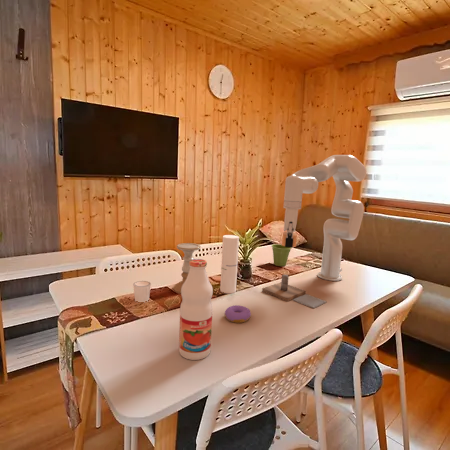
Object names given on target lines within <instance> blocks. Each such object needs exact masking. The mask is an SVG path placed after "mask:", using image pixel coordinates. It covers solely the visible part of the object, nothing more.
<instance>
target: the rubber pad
mask: <svg viewBox="0 0 450 450" xmlns="http://www.w3.org/2000/svg"><path fill="white" fill-rule="evenodd" d="M292 301H293V302H296V303H298V304H302V305H303V306H307V307H309V308H310V309H316V308H318V307H320V306H322V305H325V304H326V303H327V300H324V299H321V298H318V297H315V296H314V295H313V296H312V295H310V294H307V293H306V294H305V295H302V296H300V297H297V298H295V299H292Z"/></svg>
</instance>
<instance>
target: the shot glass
mask: <svg viewBox="0 0 450 450" xmlns="http://www.w3.org/2000/svg"><path fill="white" fill-rule="evenodd" d="M132 285H133V286H132V287H133V294H134V302H136V301H138V302H144V303H146V302H145V301H147V302H149V301H150V295H151V294H150V293H151V285H152V283H151V282H150V281H146V280H139V281H136V282H134V283H133V284H132ZM148 300H149V301H148ZM138 302H137V303H138Z"/></svg>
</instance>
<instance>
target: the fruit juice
mask: <svg viewBox="0 0 450 450" xmlns="http://www.w3.org/2000/svg"><path fill="white" fill-rule="evenodd" d="M207 265H208V263H207V260H206V259H203V258H202V259H201V258H194V259H192V260H190V262H189V266H190V271H189V273H188V276H187V279H186V281H185V282H184V284H183V285H182V288H181V293H180V294H181V299H182V301H181V303H180V307H179V331H178V332H179V335H178V336H179V337H178V338H179V339H178V351H179V354H180V356H181V357H183V358H184V359H186V360H189V361H190V360H192V361H199V360H203V359H205V358H207V357H209V354H210V352H211V347H212V329H213V327H212V326H213V325H212V324H213V303H212V297H213V293H214V291H213V290H214V288H213V285H212V284H211V282H210V279H209V276H208V272H207V269H206V268H207Z"/></svg>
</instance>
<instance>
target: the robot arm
mask: <svg viewBox="0 0 450 450" xmlns="http://www.w3.org/2000/svg"><path fill="white" fill-rule="evenodd" d="M366 176H367V169H366V166H365V165H364V164H363V163H362V162H361V161H360V160H359V159H358V158H357V157H356V156H353V155H351V154H333V155H331V156H329V157H326V158H324V160H322V161H320V162H319V163H318V164H315V165H313V166H309V167H305V168H301V169H300V170H297V171H295V172H293V173H292V174H291V175H289V176H287V177H286V178H285V183H284V186H285V187H284V195H283V196H284V198H283V207H282V208H283V209H285V211H284V220H283V221H284V224H283V232H287V236H286V242H285V247H291V249H292V248H294V247H293V233H296V227H297V223H298V215H299V210H301V209H302V203H303V201H302V200H303V194H309V195H310V194H314V193H315V192H317V190H318V189H319V183H321V182H326V181H327V180H329V179H331V178H333V182H334V184H335V193H334V197H333V201H332V204H331V208H330V209H331V214H332V215H333V216H335V217H336V218H328V219H326V221H324V223H323V246H322V247H323V249H322V257H321V264H320V265H321V267H320V271H319V272H317V275H316V276H317V277H318V278H320V279H322V280H325V281H332V282H339V281H341V280H342V281H343V276H342V275H341V274H340V272H341V273H342V272H343V268H341V265H342V263H341V262H342V254H343V242H342V240H347V241H354V240H356V239H357V237H358V236H359V233H360V232H359V231H360V230H361V229H360V228H361V225H362V221H363V217H364V212H365V206H364V203H363V202H362V201H360V200H356V199H352V198H353V193H354V189H353V186H352V185H351V183H350V182H358V183H359V182H362V181H363V180H365V178H366ZM337 217H338V218H337ZM340 218H343V219H340ZM345 219H348V220H345ZM341 239H342V240H341Z"/></svg>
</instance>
